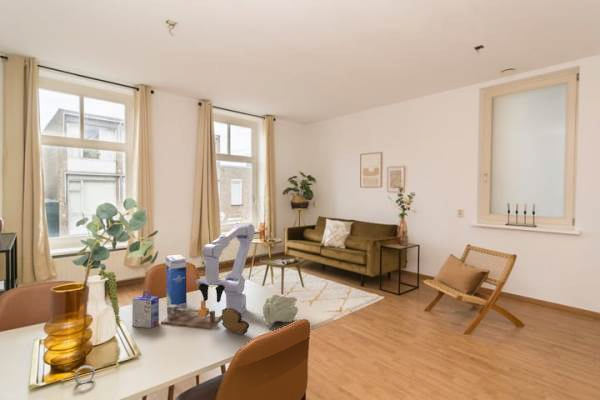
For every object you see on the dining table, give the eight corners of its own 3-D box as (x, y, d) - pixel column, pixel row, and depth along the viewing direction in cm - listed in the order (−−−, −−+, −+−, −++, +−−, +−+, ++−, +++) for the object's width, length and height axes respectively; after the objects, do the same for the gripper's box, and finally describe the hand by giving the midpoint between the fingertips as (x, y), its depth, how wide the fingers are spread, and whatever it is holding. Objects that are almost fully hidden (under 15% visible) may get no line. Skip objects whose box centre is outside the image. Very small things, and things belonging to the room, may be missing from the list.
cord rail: (220, 319, 141) (220, 305, 140) (210, 329, 131) (210, 314, 130) (174, 314, 145) (174, 301, 145) (160, 323, 135) (160, 309, 135)
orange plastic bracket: (208, 314, 138) (208, 299, 137) (205, 316, 135) (205, 301, 135) (200, 313, 138) (200, 298, 138) (197, 315, 136) (197, 300, 135)
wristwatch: (76, 381, 95) (76, 366, 95) (95, 377, 97) (94, 362, 97) (74, 387, 92) (73, 371, 92) (93, 382, 94) (93, 367, 94)
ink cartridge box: (159, 323, 136) (159, 291, 136) (151, 328, 131) (151, 295, 130) (140, 321, 138) (140, 289, 138) (131, 326, 133) (131, 294, 132)
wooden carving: (252, 334, 126) (252, 310, 126) (245, 338, 122) (245, 314, 122) (223, 325, 135) (223, 303, 134) (216, 329, 131) (216, 306, 130)
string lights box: (187, 309, 152) (186, 258, 151) (170, 313, 147) (170, 260, 146) (180, 301, 163) (180, 253, 162) (165, 304, 158) (165, 255, 157)
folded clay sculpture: (280, 331, 143) (285, 297, 150) (299, 333, 135) (303, 297, 141) (250, 326, 133) (256, 289, 139) (268, 327, 124) (274, 289, 131)
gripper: (192, 272, 132) (192, 302, 133) (223, 274, 130) (223, 305, 130) (200, 268, 139) (201, 297, 140) (230, 270, 137) (230, 299, 137)
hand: (212, 300), depth 135 cm, fingers open, 6 cm apart
